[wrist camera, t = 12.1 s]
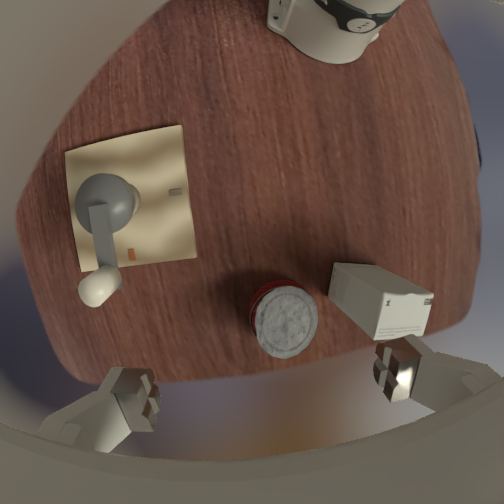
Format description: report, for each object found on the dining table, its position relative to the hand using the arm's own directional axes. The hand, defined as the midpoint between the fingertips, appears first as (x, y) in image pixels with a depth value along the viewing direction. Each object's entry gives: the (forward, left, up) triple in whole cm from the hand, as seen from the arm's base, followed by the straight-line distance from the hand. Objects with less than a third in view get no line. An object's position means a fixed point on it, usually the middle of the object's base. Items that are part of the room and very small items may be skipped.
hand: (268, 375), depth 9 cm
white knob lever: (-4, -15, -24) cm, 29 cm away
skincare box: (+9, +17, -32) cm, 37 cm away
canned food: (+12, +5, -32) cm, 35 cm away
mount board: (-7, -15, -32) cm, 35 cm away
